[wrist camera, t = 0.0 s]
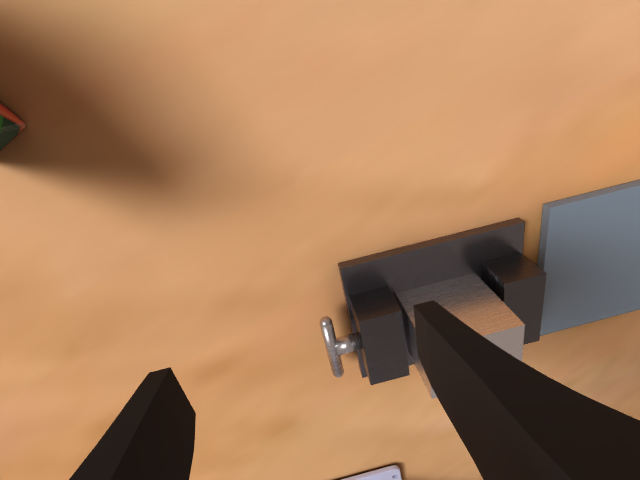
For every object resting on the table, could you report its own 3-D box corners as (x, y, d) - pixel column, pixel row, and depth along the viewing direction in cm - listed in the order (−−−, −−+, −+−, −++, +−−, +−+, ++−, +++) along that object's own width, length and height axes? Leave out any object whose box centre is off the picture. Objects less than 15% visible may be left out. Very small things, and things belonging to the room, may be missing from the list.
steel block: (474, 318, 24) (520, 374, 20) (401, 337, 24) (431, 398, 20) (475, 272, 23) (524, 324, 18) (395, 293, 22) (427, 350, 18)
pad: (662, 296, 27) (670, 301, 26) (531, 331, 27) (536, 336, 26) (702, 163, 22) (713, 166, 22) (543, 204, 22) (550, 207, 21)
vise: (511, 331, 26) (539, 362, 24) (334, 377, 26) (343, 415, 23) (518, 217, 22) (554, 240, 19) (306, 271, 22) (313, 302, 19)
